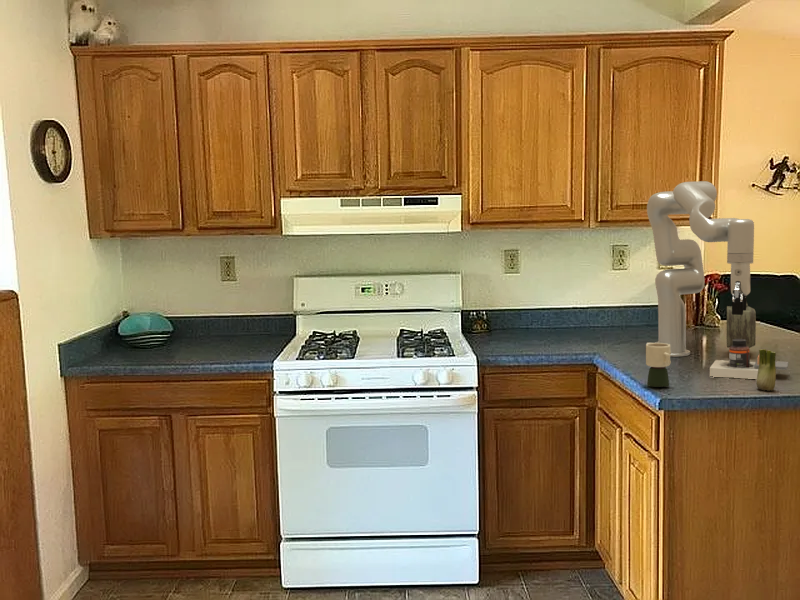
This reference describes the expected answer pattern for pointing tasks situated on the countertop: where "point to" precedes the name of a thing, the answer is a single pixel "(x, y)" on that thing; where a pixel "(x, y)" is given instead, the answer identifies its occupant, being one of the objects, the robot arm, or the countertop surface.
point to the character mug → (658, 364)
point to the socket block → (732, 370)
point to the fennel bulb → (766, 370)
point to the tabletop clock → (741, 326)
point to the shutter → (777, 363)
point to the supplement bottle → (739, 354)
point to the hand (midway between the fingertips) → (739, 312)
